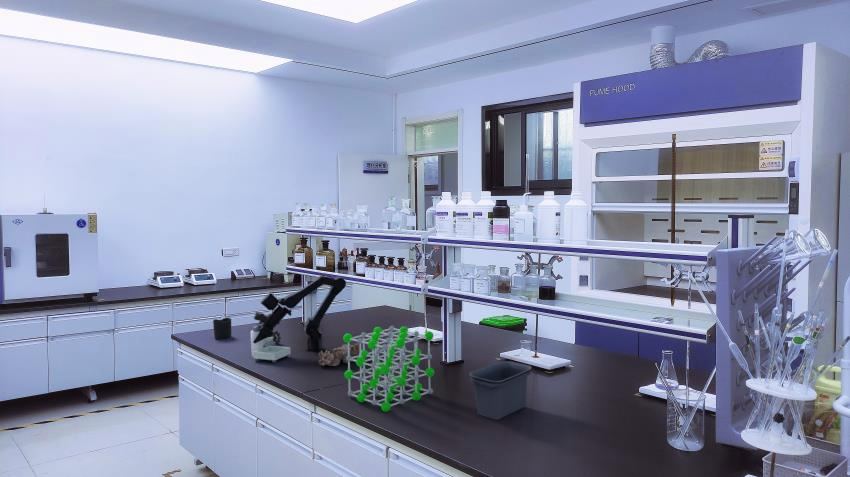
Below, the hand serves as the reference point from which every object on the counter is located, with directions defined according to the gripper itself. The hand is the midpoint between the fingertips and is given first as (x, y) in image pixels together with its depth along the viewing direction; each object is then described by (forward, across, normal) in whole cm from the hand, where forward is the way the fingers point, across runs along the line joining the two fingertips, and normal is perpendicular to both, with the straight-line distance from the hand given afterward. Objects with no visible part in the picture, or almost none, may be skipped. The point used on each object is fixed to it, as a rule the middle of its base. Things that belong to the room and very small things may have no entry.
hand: (253, 341), depth 276 cm
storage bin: (-49, +109, +59) cm, 133 cm away
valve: (0, -18, +10) cm, 21 cm away
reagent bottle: (+4, 0, +6) cm, 7 cm away
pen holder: (+16, -47, -5) cm, 50 cm away
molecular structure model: (-27, +81, +37) cm, 93 cm away
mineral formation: (-21, +28, +31) cm, 47 cm away
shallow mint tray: (0, +10, +10) cm, 14 cm away
